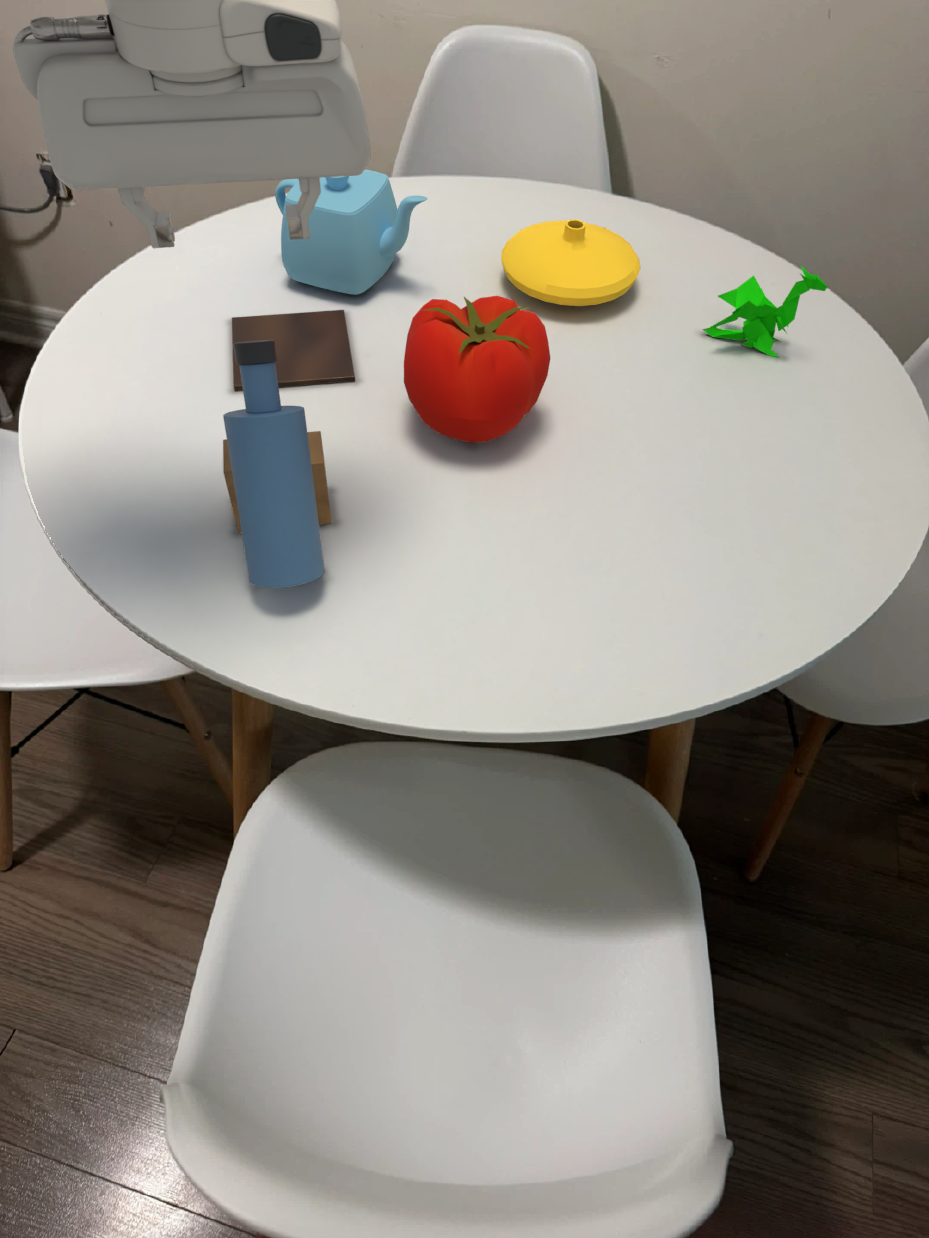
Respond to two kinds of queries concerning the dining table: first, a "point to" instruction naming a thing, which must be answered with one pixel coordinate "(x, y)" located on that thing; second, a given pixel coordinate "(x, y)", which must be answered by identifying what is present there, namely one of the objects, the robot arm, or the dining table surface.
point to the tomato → (475, 366)
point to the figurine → (762, 312)
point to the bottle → (272, 476)
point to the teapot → (346, 232)
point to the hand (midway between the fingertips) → (232, 239)
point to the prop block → (317, 472)
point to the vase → (570, 263)
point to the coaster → (300, 346)
